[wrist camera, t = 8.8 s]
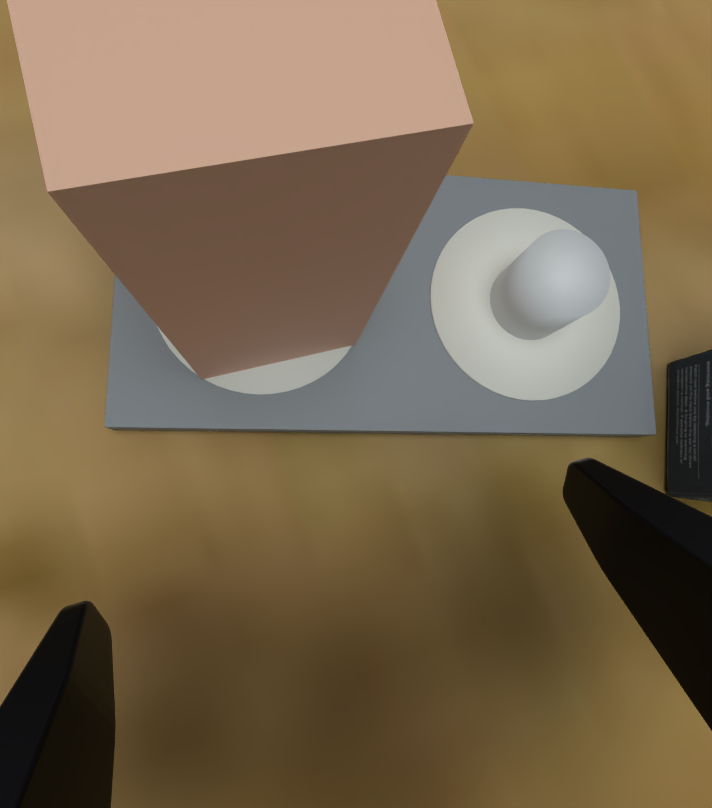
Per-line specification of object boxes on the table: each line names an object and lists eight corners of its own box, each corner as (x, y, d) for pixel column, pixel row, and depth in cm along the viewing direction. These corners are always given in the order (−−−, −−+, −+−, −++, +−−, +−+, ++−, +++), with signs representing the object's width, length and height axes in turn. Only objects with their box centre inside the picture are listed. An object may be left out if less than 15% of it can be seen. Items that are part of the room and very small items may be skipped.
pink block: (355, 344, 19) (473, 123, 7) (201, 379, 18) (48, 192, 6) (317, 203, 20) (369, -217, 8) (166, 230, 19) (-36, -200, 7)
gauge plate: (638, 436, 21) (720, 426, 17) (114, 429, 18) (68, 416, 15) (621, 203, 23) (692, 145, 19) (131, 165, 20) (94, 88, 16)
